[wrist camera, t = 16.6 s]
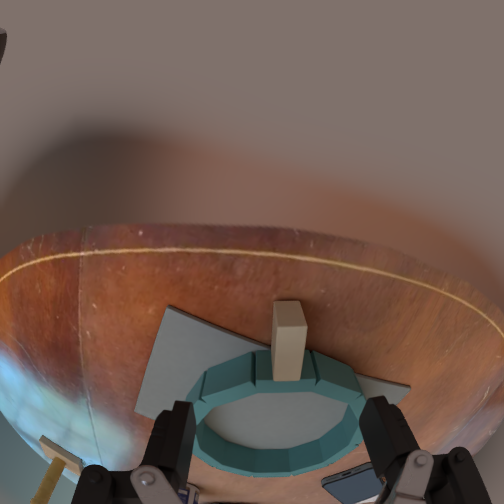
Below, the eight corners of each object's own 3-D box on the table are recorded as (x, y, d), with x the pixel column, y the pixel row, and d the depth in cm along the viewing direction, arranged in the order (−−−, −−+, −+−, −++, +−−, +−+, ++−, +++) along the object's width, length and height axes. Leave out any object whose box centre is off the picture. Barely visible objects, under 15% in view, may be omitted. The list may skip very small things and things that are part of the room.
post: (48, 450, 28) (21, 501, 13) (42, 434, 26) (9, 491, 11) (83, 471, 29) (61, 526, 14) (81, 459, 27) (53, 521, 12)
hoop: (339, 448, 21) (344, 470, 19) (199, 451, 22) (195, 473, 19) (393, 297, 16) (413, 319, 13) (168, 297, 16) (153, 321, 13)
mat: (135, 408, 20) (134, 411, 20) (168, 304, 17) (166, 307, 16) (331, 458, 23) (332, 461, 22) (410, 386, 19) (411, 388, 19)
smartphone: (375, 466, 22) (387, 491, 26) (372, 457, 24) (385, 484, 27) (319, 486, 23) (345, 507, 27) (317, 476, 25) (343, 500, 28)
